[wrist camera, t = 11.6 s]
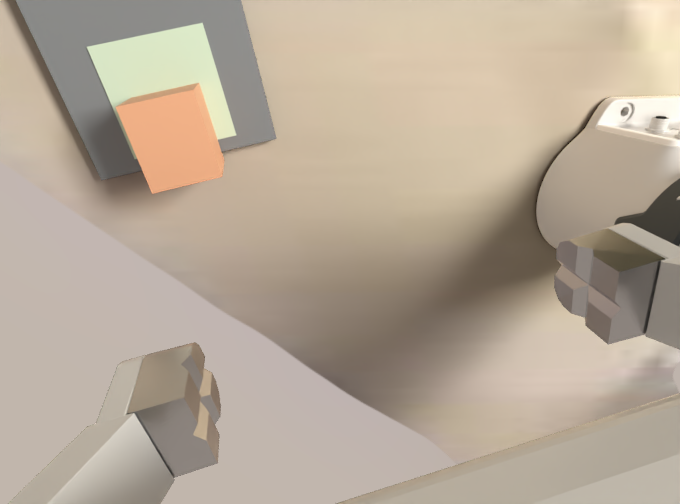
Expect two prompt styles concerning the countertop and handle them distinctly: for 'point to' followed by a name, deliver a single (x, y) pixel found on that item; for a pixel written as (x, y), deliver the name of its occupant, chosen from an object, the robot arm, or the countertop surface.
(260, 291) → the countertop surface
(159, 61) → the ticket board
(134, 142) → the stub
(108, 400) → the robot arm
